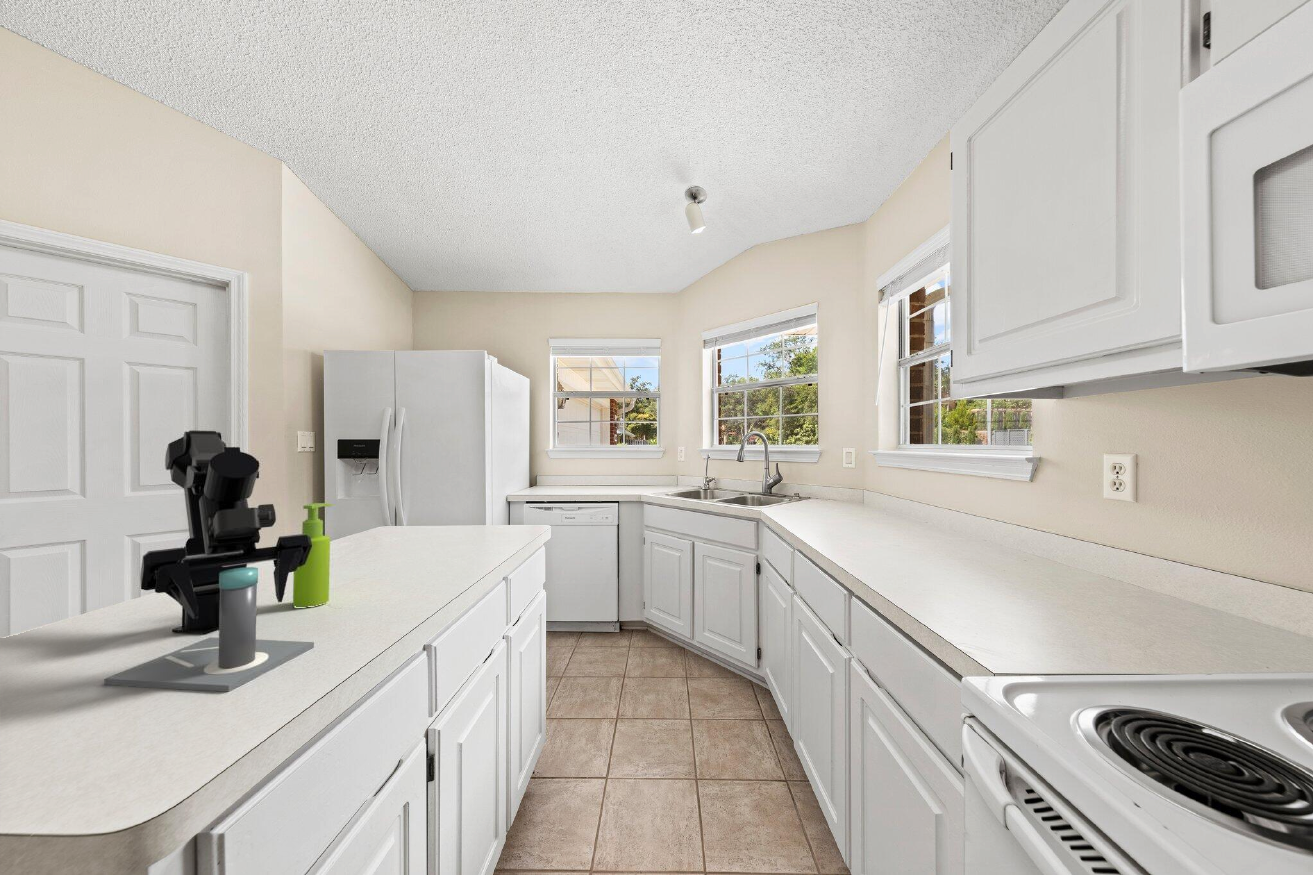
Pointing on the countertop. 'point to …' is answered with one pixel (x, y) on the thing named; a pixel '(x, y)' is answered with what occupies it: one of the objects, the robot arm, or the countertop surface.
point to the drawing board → (207, 667)
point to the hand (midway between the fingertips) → (240, 608)
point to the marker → (237, 617)
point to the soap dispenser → (313, 563)
